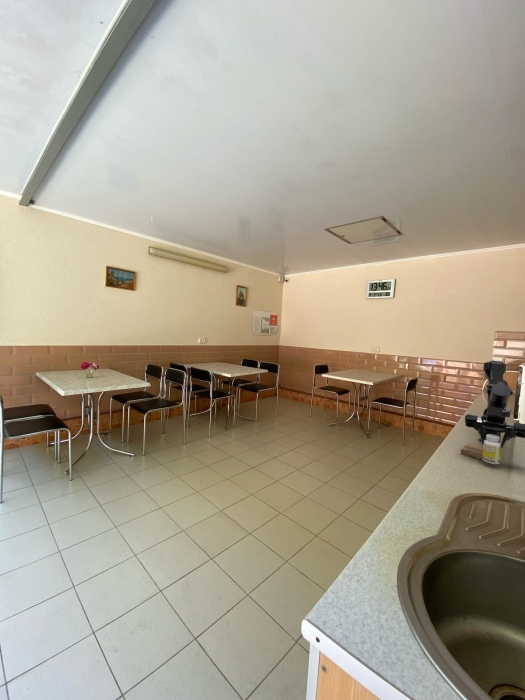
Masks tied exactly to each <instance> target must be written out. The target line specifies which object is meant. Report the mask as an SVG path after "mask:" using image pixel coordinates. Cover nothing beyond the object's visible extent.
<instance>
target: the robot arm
mask: <svg viewBox="0 0 525 700" xmlns="http://www.w3.org/2000/svg"><path fill="white" fill-rule="evenodd" d="M482 372H484V377H485V379H486V380H487V381H488V382H487V384H486V385H485V386H486V387H485V393H486V394H487V401H486V402H487V405H486V406H487V407H486V408H485V409H484V410H483V413H482V415H480V418H479V416H478V415H475V414H471V413H469V414H466V415H465V417H464V423H465V427H467V428H472V429H473V430H475V431H477V433H478V435H479V438H478V440H479V441H480V442H481V444H482V445H483V442H484V440H487V439H486V435H487V434H493V435H497V436H499V437H500V438H501V435H502V434H503V437H502V441H501V439H500V440H499V442H500V443H501V449H504V447H505V446H506V444H507V443H508V442H509V441H510V440H511V439H515V438H522V439H525V423H519V422H513V425H511V424H508V423H507V422H506V418H510V417H511V413H512V412H511V410H512V408H511V407H508V402H509V399H510V397H511V396H512V395H513V393H514V392H513V390H512V389H511V387H510V386H509V383H508V381H506V380H505V379H504V374H506V372H507V363H504V361H501V360H490V361H487V362H484V363H483V366H482Z"/></svg>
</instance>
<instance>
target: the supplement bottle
mask: <svg viewBox="0 0 525 700" xmlns="http://www.w3.org/2000/svg"><path fill="white" fill-rule="evenodd" d="M486 439H487V440H484V442H483V444H482V447H483V455H482V459H483V460H482V461H483V462H486V463H489V464H493V465H499V464H500V463H501V459H502V457H501V455H502V448H501V444H502V442H501V437H499V436H497V435H493V434H487V435H486ZM499 440H500V442H499Z"/></svg>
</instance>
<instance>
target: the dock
mask: <svg viewBox="0 0 525 700" xmlns="http://www.w3.org/2000/svg"><path fill="white" fill-rule="evenodd" d="M460 454H461V455H463V456H468V457H471V458H474V457H475V459H477V458H478V460H481V461H484V460H483V459H482V455H483V446H482V445H481V446H480V445H475V444H473V443H469V442H467V443H466V444H465V445H463V447H462V448H461V449H460Z"/></svg>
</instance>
